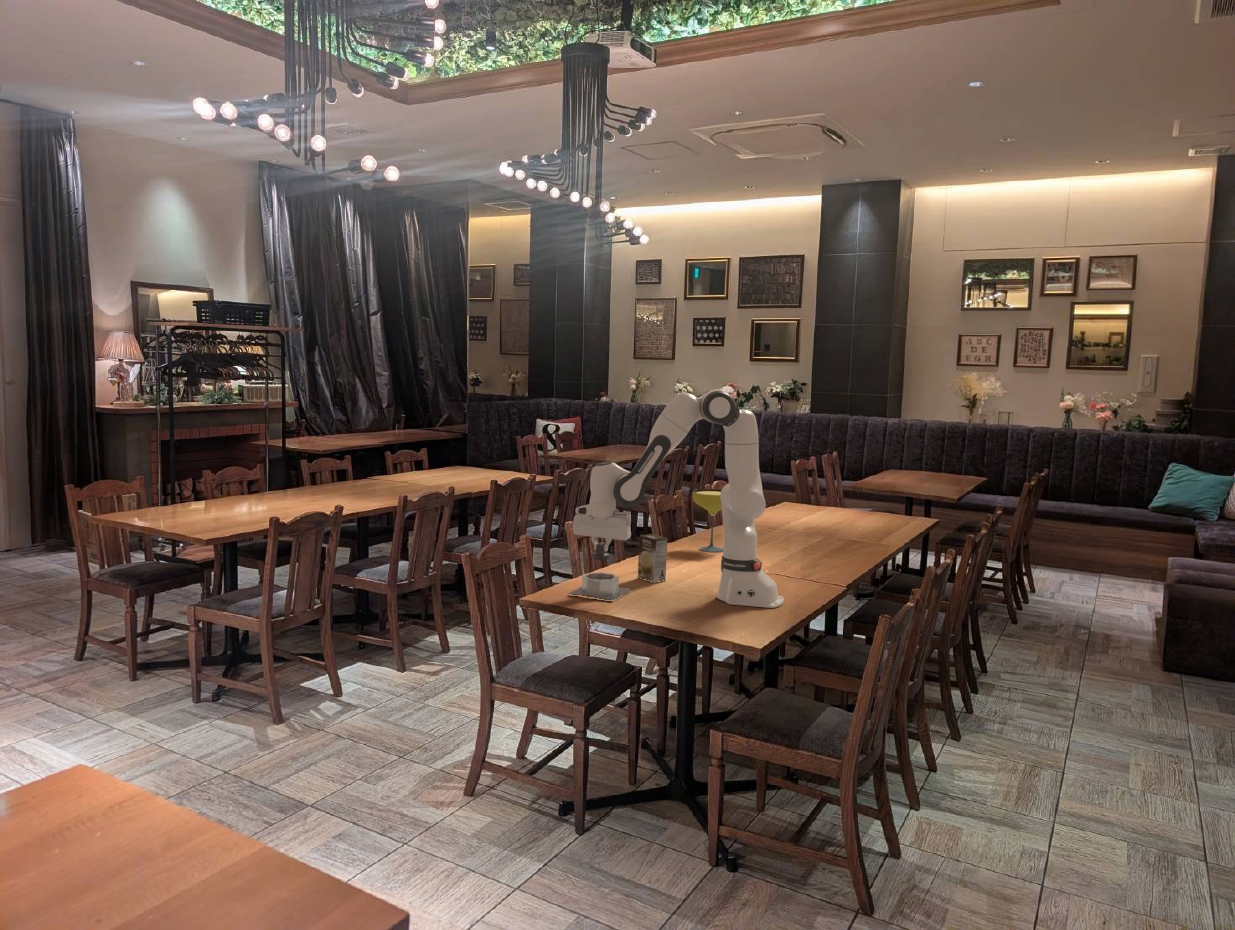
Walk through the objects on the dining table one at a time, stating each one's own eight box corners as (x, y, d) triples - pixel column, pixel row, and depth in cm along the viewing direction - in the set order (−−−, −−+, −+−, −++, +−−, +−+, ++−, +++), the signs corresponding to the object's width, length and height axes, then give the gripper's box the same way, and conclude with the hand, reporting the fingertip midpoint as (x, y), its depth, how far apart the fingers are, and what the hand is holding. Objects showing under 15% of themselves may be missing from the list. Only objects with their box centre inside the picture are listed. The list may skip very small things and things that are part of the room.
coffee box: (636, 578, 320) (638, 535, 319) (649, 576, 324) (650, 533, 323) (653, 583, 313) (655, 539, 312) (666, 581, 318) (668, 537, 316)
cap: (612, 557, 297) (612, 543, 296) (605, 560, 291) (605, 546, 291) (596, 555, 299) (596, 541, 298) (588, 558, 293) (589, 543, 293)
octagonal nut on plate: (630, 591, 301) (631, 574, 300) (612, 602, 286) (612, 584, 285) (588, 585, 307) (589, 569, 306) (568, 596, 292) (568, 578, 292)
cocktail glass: (682, 546, 381) (684, 489, 378) (718, 544, 388) (720, 488, 386) (703, 555, 364) (706, 495, 362) (740, 552, 372) (743, 494, 369)
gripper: (634, 511, 292) (633, 552, 294) (579, 505, 300) (578, 545, 302) (627, 514, 286) (625, 555, 288) (571, 508, 294) (570, 548, 296)
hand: (600, 550), depth 295 cm, fingers closed on cap
